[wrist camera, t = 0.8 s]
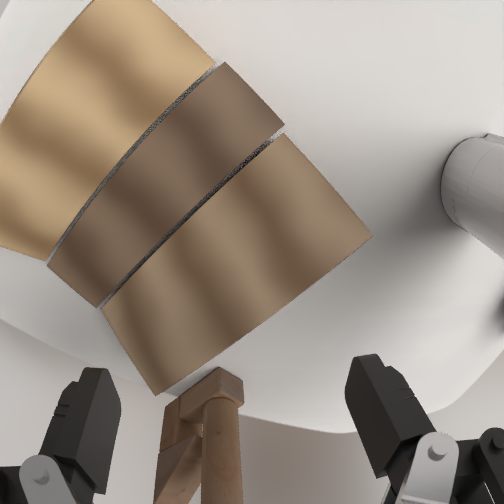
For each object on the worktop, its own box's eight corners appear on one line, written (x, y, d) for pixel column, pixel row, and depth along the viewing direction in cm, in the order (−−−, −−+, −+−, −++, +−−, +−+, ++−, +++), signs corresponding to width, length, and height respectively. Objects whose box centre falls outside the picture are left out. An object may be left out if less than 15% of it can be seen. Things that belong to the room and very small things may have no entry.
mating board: (225, 64, 20) (224, 61, 19) (280, 122, 23) (285, 124, 21) (56, 255, 26) (46, 265, 24) (102, 296, 28) (96, 308, 26)
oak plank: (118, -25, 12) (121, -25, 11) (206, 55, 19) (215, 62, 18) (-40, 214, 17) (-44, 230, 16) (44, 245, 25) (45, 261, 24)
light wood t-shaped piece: (163, 405, 36) (149, 537, 20) (219, 364, 33) (220, 525, 17) (187, 417, 37) (181, 544, 21) (244, 379, 34) (256, 531, 18)
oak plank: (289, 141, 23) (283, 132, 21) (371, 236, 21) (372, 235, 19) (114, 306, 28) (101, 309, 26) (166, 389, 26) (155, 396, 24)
